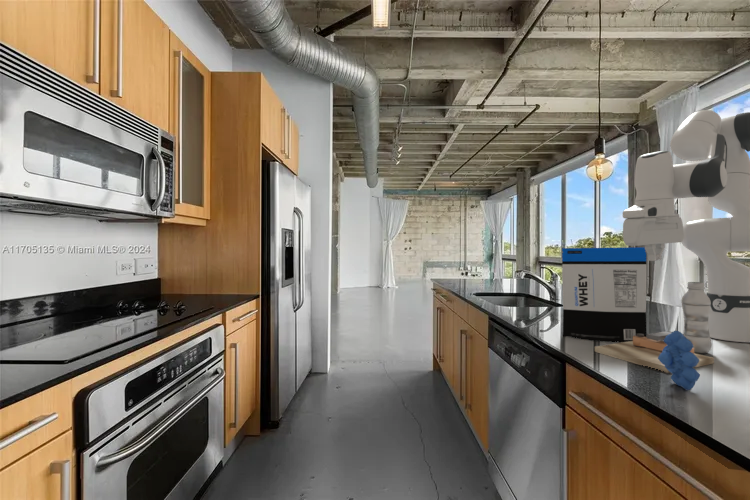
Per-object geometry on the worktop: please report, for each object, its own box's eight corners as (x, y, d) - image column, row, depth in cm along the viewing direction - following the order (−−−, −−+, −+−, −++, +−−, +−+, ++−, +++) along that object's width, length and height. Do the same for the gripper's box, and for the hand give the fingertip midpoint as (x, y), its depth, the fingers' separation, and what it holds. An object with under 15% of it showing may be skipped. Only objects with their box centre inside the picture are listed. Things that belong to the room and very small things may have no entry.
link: (629, 344, 113) (629, 336, 113) (638, 342, 114) (638, 335, 114) (689, 358, 99) (689, 349, 99) (697, 356, 100) (697, 347, 100)
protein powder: (651, 344, 119) (651, 247, 119) (564, 339, 127) (564, 248, 126) (641, 337, 128) (641, 247, 127) (561, 333, 136) (560, 248, 135)
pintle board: (637, 344, 119) (637, 324, 119) (713, 363, 100) (713, 339, 100) (594, 351, 113) (594, 330, 112) (667, 372, 94) (667, 347, 94)
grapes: (646, 375, 92) (646, 325, 92) (679, 377, 91) (679, 326, 90) (670, 394, 81) (670, 337, 81) (708, 397, 79) (708, 339, 79)
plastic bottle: (717, 356, 106) (717, 283, 106) (689, 355, 108) (689, 283, 107) (702, 349, 113) (702, 281, 112) (676, 348, 114) (676, 281, 114)
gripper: (666, 210, 113) (666, 257, 114) (617, 212, 106) (618, 262, 107) (690, 209, 108) (691, 258, 108) (641, 210, 100) (641, 263, 101)
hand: (654, 260), depth 107 cm, fingers closed
